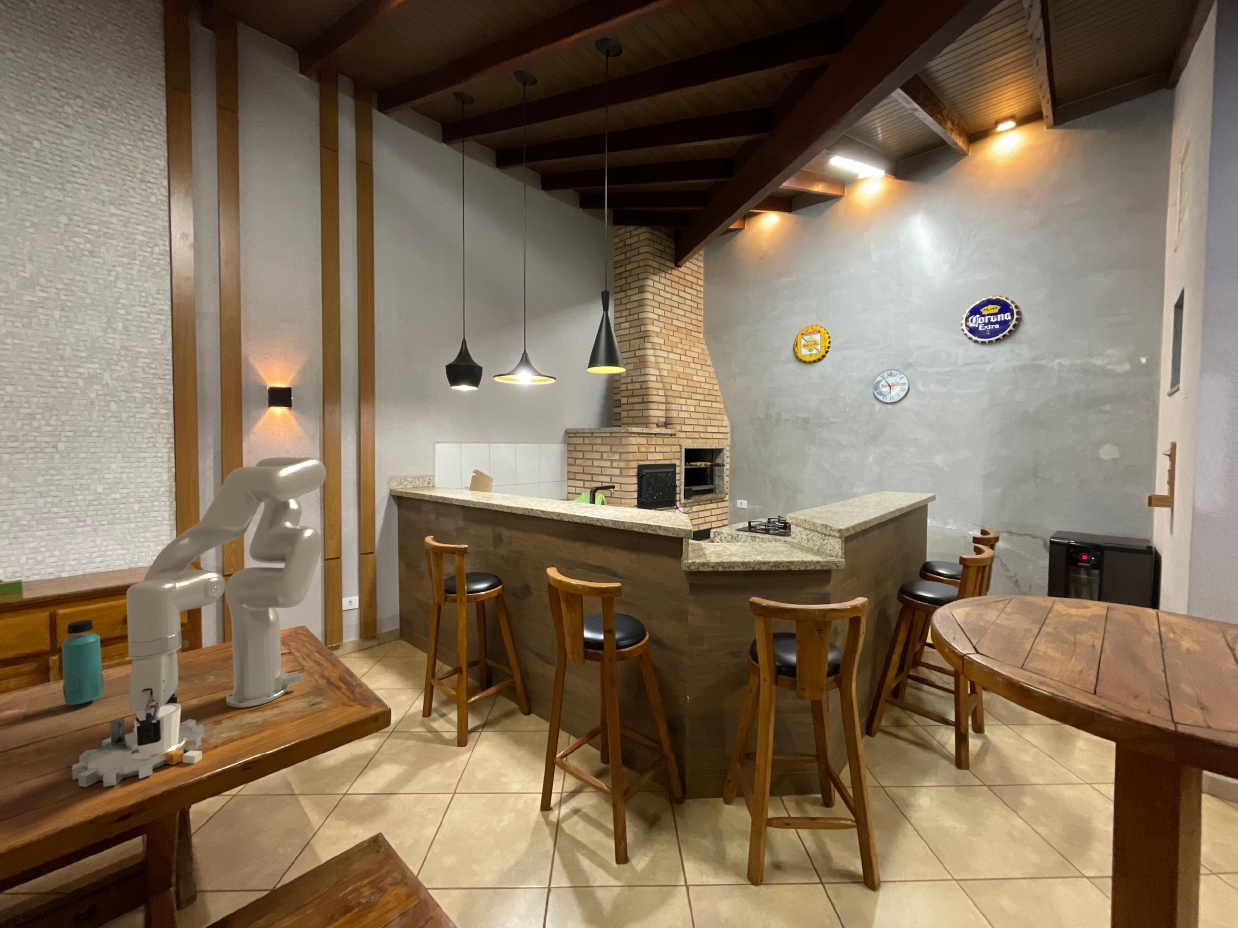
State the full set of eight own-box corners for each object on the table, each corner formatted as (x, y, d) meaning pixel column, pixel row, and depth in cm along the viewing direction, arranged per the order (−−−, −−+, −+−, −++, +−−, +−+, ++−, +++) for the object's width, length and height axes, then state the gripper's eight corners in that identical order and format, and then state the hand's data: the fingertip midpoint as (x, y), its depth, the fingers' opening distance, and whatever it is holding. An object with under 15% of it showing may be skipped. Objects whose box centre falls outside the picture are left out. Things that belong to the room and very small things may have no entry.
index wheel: (226, 734, 105) (225, 706, 105) (120, 794, 87) (119, 761, 87) (160, 722, 109) (159, 696, 109) (45, 778, 91) (44, 746, 91)
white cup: (153, 759, 93) (152, 723, 93) (124, 755, 94) (123, 719, 94) (191, 738, 100) (190, 704, 100) (163, 734, 101) (162, 701, 101)
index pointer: (183, 762, 96) (182, 754, 96) (190, 757, 98) (190, 750, 98) (194, 763, 96) (194, 755, 96) (202, 758, 98) (201, 751, 98)
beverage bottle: (110, 699, 120) (107, 618, 119) (73, 713, 114) (69, 627, 113) (94, 695, 122) (91, 615, 121) (56, 708, 116) (53, 624, 115)
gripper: (146, 632, 103) (149, 713, 103) (109, 665, 87) (113, 760, 88) (193, 626, 106) (195, 704, 107) (165, 657, 91) (168, 748, 91)
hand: (158, 729), depth 97 cm, fingers open, 9 cm apart
